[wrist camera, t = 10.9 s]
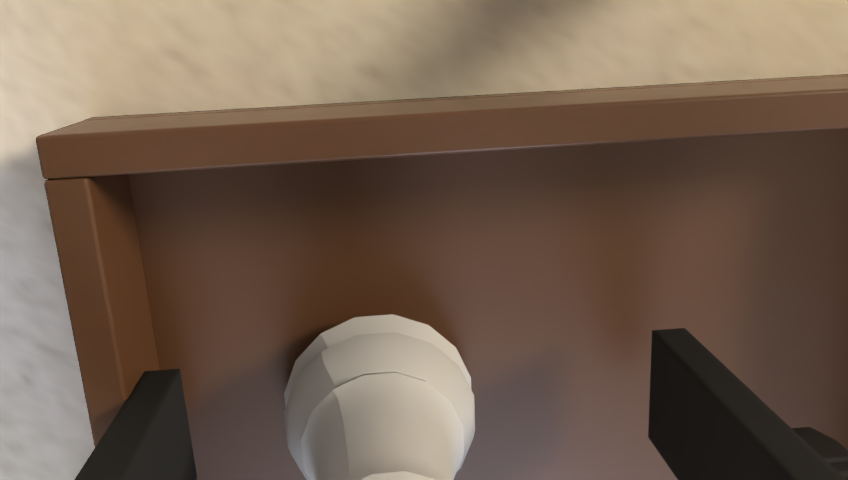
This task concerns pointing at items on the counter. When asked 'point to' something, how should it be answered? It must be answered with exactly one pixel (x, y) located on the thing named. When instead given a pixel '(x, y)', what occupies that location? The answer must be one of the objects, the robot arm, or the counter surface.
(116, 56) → the counter surface
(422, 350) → the rook chess piece
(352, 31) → the counter surface
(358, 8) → the counter surface
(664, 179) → the tray
